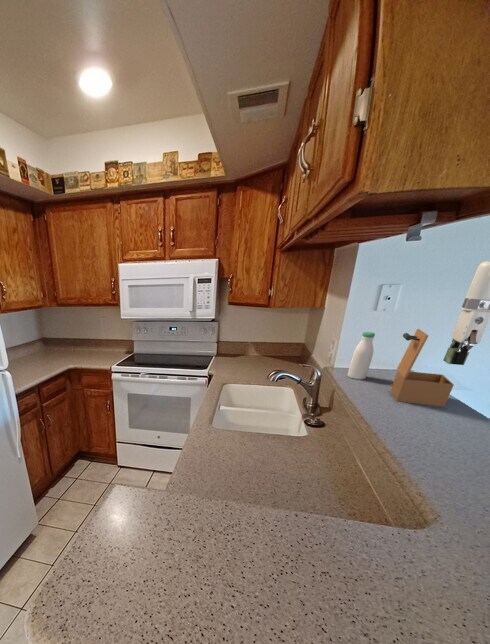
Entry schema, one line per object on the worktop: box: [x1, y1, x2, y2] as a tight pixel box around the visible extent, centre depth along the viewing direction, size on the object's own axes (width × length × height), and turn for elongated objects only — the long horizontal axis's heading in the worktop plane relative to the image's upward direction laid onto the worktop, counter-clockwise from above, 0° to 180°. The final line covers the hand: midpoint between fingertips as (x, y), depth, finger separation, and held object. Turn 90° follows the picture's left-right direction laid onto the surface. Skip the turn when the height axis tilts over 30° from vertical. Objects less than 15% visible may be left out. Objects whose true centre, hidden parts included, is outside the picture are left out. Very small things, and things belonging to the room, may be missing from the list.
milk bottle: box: [347, 331, 376, 380], centre depth 146 cm, size 8×8×20 cm
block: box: [443, 347, 470, 366], centre depth 110 cm, size 4×4×4 cm
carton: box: [390, 370, 454, 407], centre depth 126 cm, size 15×12×9 cm
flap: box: [396, 328, 429, 379], centre depth 123 cm, size 16×12×5 cm
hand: (453, 361), depth 111 cm, fingers closed on block, 4 cm apart
